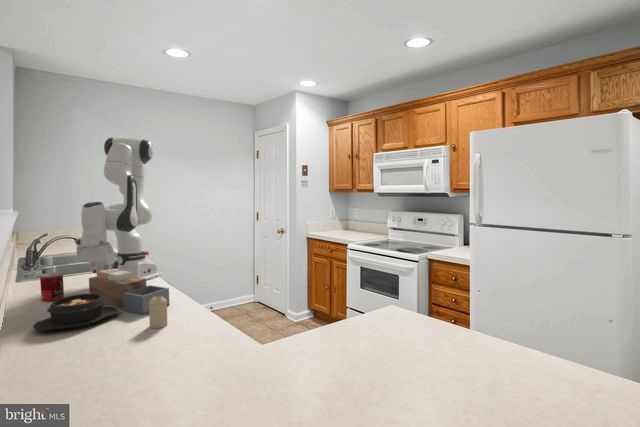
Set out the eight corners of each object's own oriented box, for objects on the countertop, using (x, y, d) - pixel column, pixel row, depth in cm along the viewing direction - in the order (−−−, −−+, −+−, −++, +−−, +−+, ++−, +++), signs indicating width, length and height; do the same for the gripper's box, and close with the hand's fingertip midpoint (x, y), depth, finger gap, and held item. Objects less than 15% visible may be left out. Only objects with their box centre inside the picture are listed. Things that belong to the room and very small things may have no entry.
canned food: (55, 302, 152) (54, 276, 151) (36, 302, 152) (34, 276, 151) (68, 296, 160) (67, 271, 159) (50, 296, 160) (49, 271, 159)
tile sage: (121, 276, 154) (121, 270, 153) (131, 277, 151) (130, 271, 151) (107, 279, 148) (107, 273, 148) (117, 281, 146) (117, 275, 145)
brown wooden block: (110, 296, 160) (109, 273, 159) (147, 302, 150) (146, 278, 149) (90, 301, 152) (88, 278, 151) (127, 309, 142) (125, 284, 141)
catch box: (150, 301, 151) (149, 285, 151) (169, 305, 147) (168, 288, 146) (123, 310, 141) (122, 292, 140) (143, 314, 136) (142, 296, 135)
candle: (146, 326, 124) (144, 297, 123) (160, 321, 129) (158, 293, 128) (157, 329, 121) (156, 300, 121) (171, 324, 126) (169, 295, 126)
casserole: (41, 341, 113) (39, 314, 112) (27, 326, 125) (26, 302, 125) (126, 319, 132) (125, 296, 131) (107, 308, 144) (106, 287, 143)
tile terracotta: (110, 274, 157) (110, 269, 157) (120, 276, 154) (119, 270, 154) (96, 278, 151) (96, 272, 151) (106, 279, 149) (105, 273, 149)
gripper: (118, 241, 153) (119, 273, 154) (87, 238, 162) (89, 269, 163) (103, 243, 148) (105, 277, 149) (72, 240, 157) (74, 272, 158)
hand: (96, 273), depth 156 cm, fingers closed
